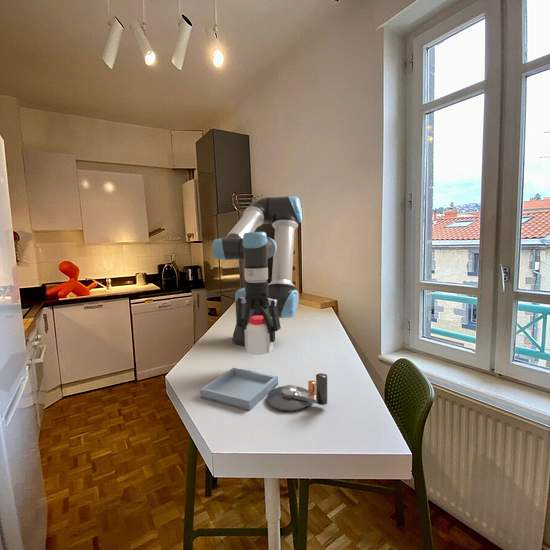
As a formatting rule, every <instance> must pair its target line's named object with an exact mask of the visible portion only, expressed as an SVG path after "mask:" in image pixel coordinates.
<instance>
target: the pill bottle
mask: <svg viewBox="0 0 550 550" xmlns="http://www.w3.org/2000/svg"><path fill="white" fill-rule="evenodd" d="M246 329H247V349H246V350H247V353H249V354H251V355H266V354H268V352H267V332H269V330H268V328H267V325H266V323H265V320H264V318H263V316H261V315H258V316H252V317H250V322H249V323H248V324H247V326H246Z"/></svg>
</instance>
